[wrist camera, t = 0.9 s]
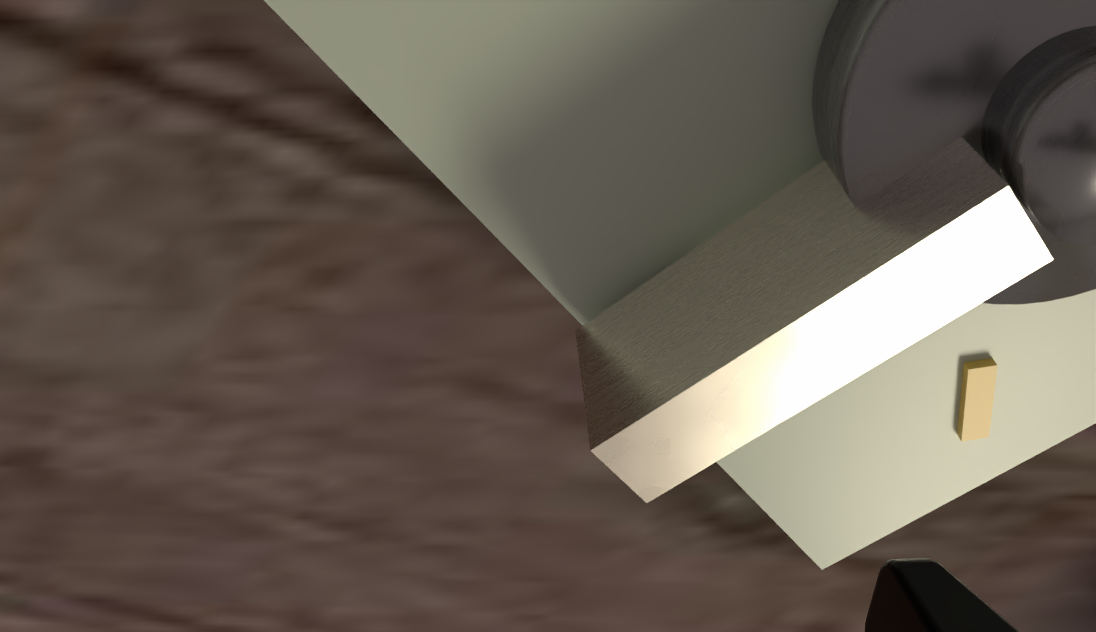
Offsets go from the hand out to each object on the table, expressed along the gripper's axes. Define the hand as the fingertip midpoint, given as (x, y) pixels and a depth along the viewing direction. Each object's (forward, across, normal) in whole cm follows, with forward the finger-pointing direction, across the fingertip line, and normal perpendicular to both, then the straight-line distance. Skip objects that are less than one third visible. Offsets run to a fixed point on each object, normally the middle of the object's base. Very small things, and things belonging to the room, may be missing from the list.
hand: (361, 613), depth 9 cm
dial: (+10, -8, +1) cm, 13 cm away
